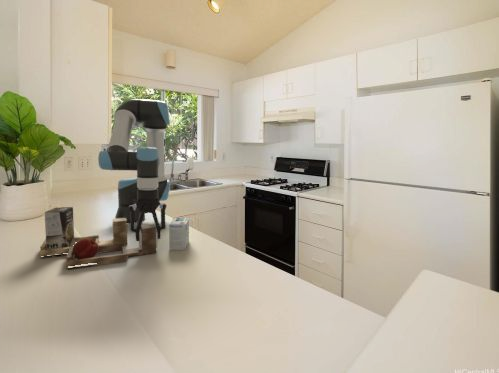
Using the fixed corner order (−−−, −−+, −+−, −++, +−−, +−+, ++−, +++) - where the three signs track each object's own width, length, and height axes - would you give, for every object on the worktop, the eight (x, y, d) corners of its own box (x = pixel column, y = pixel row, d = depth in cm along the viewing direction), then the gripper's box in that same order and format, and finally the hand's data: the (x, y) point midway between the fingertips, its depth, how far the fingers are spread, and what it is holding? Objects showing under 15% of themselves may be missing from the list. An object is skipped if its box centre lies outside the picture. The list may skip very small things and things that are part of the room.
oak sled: (40, 257, 98) (38, 230, 97) (47, 245, 110) (45, 221, 109) (128, 247, 111) (127, 223, 110) (125, 237, 123) (125, 215, 122)
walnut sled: (66, 269, 90) (65, 239, 89) (71, 254, 102) (69, 228, 101) (158, 256, 103) (157, 230, 102) (152, 245, 115) (152, 221, 114)
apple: (90, 265, 94) (89, 242, 93) (67, 264, 94) (66, 241, 93) (102, 256, 102) (101, 235, 101) (81, 256, 102) (80, 234, 101)
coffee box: (65, 254, 103) (63, 211, 101) (46, 255, 101) (43, 211, 99) (75, 246, 112) (73, 206, 110) (57, 246, 110) (55, 206, 108)
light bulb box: (173, 241, 122) (173, 217, 120) (189, 241, 122) (189, 217, 121) (168, 250, 111) (168, 223, 110) (185, 250, 112) (186, 224, 110)
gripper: (170, 186, 112) (170, 242, 115) (120, 187, 104) (122, 247, 107) (174, 189, 106) (174, 248, 109) (122, 190, 97) (123, 254, 100)
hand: (148, 247), depth 108 cm, fingers closed on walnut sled, 5 cm apart
